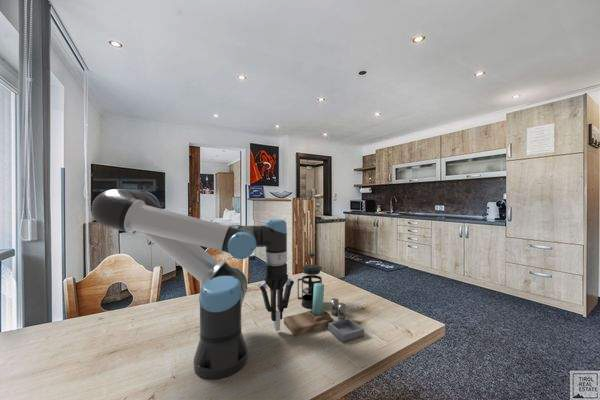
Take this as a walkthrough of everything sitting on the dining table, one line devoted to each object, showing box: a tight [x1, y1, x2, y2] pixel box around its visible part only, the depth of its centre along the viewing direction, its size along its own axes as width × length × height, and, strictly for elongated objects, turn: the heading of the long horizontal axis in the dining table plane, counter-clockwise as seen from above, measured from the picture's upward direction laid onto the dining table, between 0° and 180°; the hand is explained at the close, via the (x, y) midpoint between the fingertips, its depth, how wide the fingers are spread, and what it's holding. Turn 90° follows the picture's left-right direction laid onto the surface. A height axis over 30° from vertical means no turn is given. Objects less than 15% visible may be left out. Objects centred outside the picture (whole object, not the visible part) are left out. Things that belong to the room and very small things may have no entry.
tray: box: [327, 317, 365, 344], centre depth 88 cm, size 9×9×2 cm
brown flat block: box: [283, 308, 334, 337], centre depth 94 cm, size 16×10×4 cm, turn 117°
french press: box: [297, 252, 323, 310], centre depth 112 cm, size 12×9×23 cm
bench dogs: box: [330, 298, 347, 321], centre depth 100 cm, size 3×8×6 cm, turn 26°
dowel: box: [311, 282, 325, 317], centre depth 96 cm, size 4×4×12 cm
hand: (276, 328), depth 89 cm, fingers closed
